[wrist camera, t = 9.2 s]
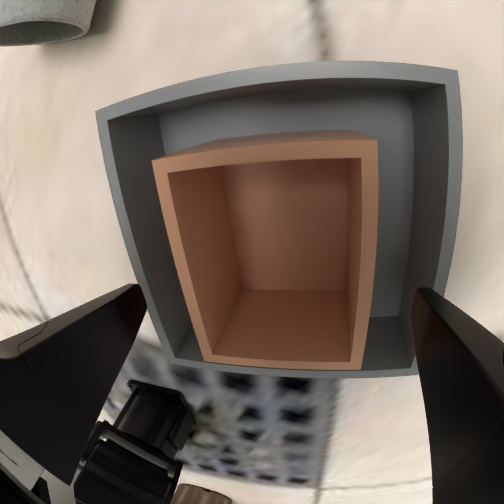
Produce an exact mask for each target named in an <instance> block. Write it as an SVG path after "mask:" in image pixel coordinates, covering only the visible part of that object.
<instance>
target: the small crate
mask: <svg viewBox="0 0 504 504" xmlns="http://www.w3.org/2000/svg"><path fill="white" fill-rule="evenodd" d="M152 165H153V170H154V175H155V180H156V185H157V190H158V194H159V199H160V204H161V208H162V213H163V217H164V221H165V225H166V230H167V234H168V238H169V242H170V246H171V250H172V254H173V258H174V261H175V265H176V269H177V273H178V276H179V280H180V283H181V287H182V291H183V294H184V297H185V301H186V304H187V308H188V311H189V314H190V318H191V321H192V324H193V327H194V331H195V334H196V337H197V340H198V343H199V346H200V349H201V352H202V355H203V358H204V361H208V362H216V363H225V364H234V365H245V366H257V367H270V368H287V369H314V370H361V365H362V359H363V354H364V348H365V342H366V336H367V330H368V323H369V316H370V308H371V300H372V291H373V282H374V272H375V260H376V245H377V226H378V145H377V140H375V139H373V138H371V137H369V136H367V135H365V134H362V133H360V132H358V131H356V130H354V129H347V130H313V131H295V132H281V133H269V134H259V135H249V136H240V137H232V138H225V139H217V140H212V141H208V142H205V143H202V144H199V145H196V146H192V147H189V148H186V149H183V150H180V151H177V152H174V153H171V154H169V155H166V156H163V157H160V158H157V159H155V160H152Z"/></svg>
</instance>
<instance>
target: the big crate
mask: <svg viewBox="0 0 504 504" xmlns="http://www.w3.org/2000/svg"><path fill="white" fill-rule="evenodd" d="M95 113H96V120H97V126H98V132H99V137H100V143H101V148H102V153H103V158H104V163H105V168H106V173H107V177H108V181H109V186H110V190H111V194H112V198H113V202H114V206H115V210H116V214H117V217H118V221H119V225H120V228H121V232H122V235H123V238H124V242H125V245H126V248H127V252H128V255H129V258H130V261H131V264H132V267H133V270H134V273H135V276H136V279H137V282H138V285H140V286H141V288H142V291H143V294H144V296H145V299H146V302H147V310H148V312H149V315H150V318H151V320H152V323H153V325H154V328H155V330H156V333H157V335H158V338H159V340H160V342H161V345H162V347H163V350H164V352H165V354H166V356H167V359H168V361H169V363H171V364H176V365H182V366H189V367H195V368H202V369H209V370H217V371H225V372H234V373H243V374H254V375H266V376H281V377H301V378H376V377H395V376H409V375H418V374H419V371H418V367H417V361H416V353H415V344H414V335H413V327H412V320H411V310H412V305H413V301H414V296H415V291H416V289H417V288H419V287H430V288H431V289H433V290H434V291H436V292H437V293H438V294H440V295H441V296H444V292H445V288H446V284H447V279H448V275H449V270H450V265H451V260H452V255H453V249H454V243H455V237H456V230H457V223H458V214H459V205H460V194H461V180H462V153H463V137H462V110H461V97H460V86H459V78H458V71H457V70H451V69H445V68H439V67H432V66H424V65H416V64H406V63H394V62H376V61H323V62H305V63H292V64H282V65H273V66H265V67H258V68H251V69H244V70H238V71H233V72H227V73H222V74H217V75H212V76H207V77H203V78H198V79H194V80H190V81H186V82H182V83H178V84H174V85H171V86H167V87H164V88H160V89H157V90H154V91H150V92H147V93H144V94H141V95H138V96H135V97H132V98H129V99H126V100H123V101H121V102H118V103H115V104H112V105H110V106H107V107H105V108H102V109H100V110H97V111H95ZM347 129H354V130H356V131H358V132H360V133H362V134H365V135H367V136H369V137H371V138H373V139H375V140H377V145H378V226H377V245H376V260H375V272H374V282H373V291H372V300H371V308H370V316H369V323H368V330H367V336H366V342H365V348H364V354H363V359H362V365H361V370H314V369H287V368H270V367H257V366H245V365H234V364H225V363H216V362H208V361H204V358H203V355H202V352H201V349H200V346H199V343H198V340H197V337H196V334H195V331H194V327H193V324H192V321H191V318H190V314H189V311H188V308H187V304H186V301H185V297H184V294H183V291H182V287H181V283H180V280H179V276H178V273H177V269H176V265H175V261H174V258H173V254H172V250H171V246H170V242H169V238H168V234H167V230H166V225H165V221H164V217H163V213H162V208H161V204H160V199H159V194H158V190H157V185H156V180H155V175H154V170H153V165H152V160H155V159H157V158H160V157H163V156H166V155H169V154H171V153H174V152H177V151H180V150H183V149H186V148H189V147H192V146H196V145H199V144H202V143H205V142H208V141H212V140H217V139H225V138H232V137H240V136H249V135H259V134H269V133H281V132H295V131H313V130H347Z"/></svg>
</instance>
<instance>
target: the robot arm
mask: <svg viewBox="0 0 504 504" xmlns="http://www.w3.org/2000/svg"><path fill="white" fill-rule="evenodd" d="M146 311H147V302H146V299H145V296H144V294H143V291H142V288H141V286H140V285H138V284H127V285H125V286H123V287H120V288H118V289H116V290H114V291H111V292H109V293H107V294H105V295H103V296H100V297H98V298H96V299H94V300H92V301H89V302H87V303H85V304H83V305H81V306H79V307H76V308H74V309H72V310H70V311H68V312H66V313H63V314H61V315H59V316H57V317H55V318H53V319H51V320H50V321H46V322H44V323H42V324H40V325H38V326H35V327H33V328H31V329H29V330H26V331H24V332H22V333H19V334H17V335H15V336H12V337H10V338H7V339H5V340H2V341H0V504H51V501H50V496H49V491H48V487H47V481H46V480H44V479H43V478H42V477H40V475H41V474H42V472H43V471H44V469H46V470H47V471H48V472H50V473H51V474H52V475H54V476H55V477H57V478H58V479H60V480H61V481H63V482H64V483H65V484H67V485H68V486H70V484H71V483H72V480H73V478H74V475H75V472H76V470H77V469H79V470H80V471H81V472H80V474H79V476H78V477H77V479H76V481H75V483H74V495H75V500H76V504H170V502H171V500H172V498H173V495H174V492H175V489H176V486H177V483H178V479H179V476H180V473H181V470H182V466H183V463H182V462H180V461H176V460H174V457H175V454H176V452H177V450H179V451H180V450H182V449H183V447H184V444H185V442H186V440H187V437H188V435H189V433H190V431H191V428H192V427H195V426H196V422H195V420H194V418H193V416H192V414H191V412H190V410H189V408H188V407H187V405H186V403H185V401H184V399H183V397H182V395H181V394H180V393H179V392H177V391H173V390H168V389H163V388H159V387H155V386H151V385H147V384H143V383H139V382H135V381H131V380H129V381H128V383H127V385H128V387H129V388H130V390H131V391H132V395H131V396H130V398H129V399H128V401H127V403H126V404H125V406H124V408H123V409H122V411H121V412H120V414H119V416H118V417H117V419H116V421H115V422H114V424H113V426H112V425H111V424H109V422H108V421H106V420H104V421H103V422H101V421H97V419H98V417H99V415H100V412H101V410H102V408H103V406H104V404H105V401H106V399H107V397H108V395H109V393H110V391H111V388H112V386H113V384H114V382H115V380H116V378H117V376H118V374H119V372H120V370H121V368H122V366H123V364H124V362H125V360H126V358H127V355H128V353H129V351H130V350H131V347H132V345H133V343H134V341H135V338H136V336H137V333H138V331H139V328H140V326H141V323H142V321H143V318H144V316H145V313H146ZM411 320H412V327H413V335H414V344H415V353H416V361H417V367H418V371H419V376H420V382H421V387H422V393H423V398H424V405H425V411H426V418H427V425H428V434H429V443H430V453H431V466H432V486H433V488H432V491H433V504H504V342H502V341H501V340H500V339H499V338H497V337H496V336H495V335H494V334H492V333H491V332H490V331H488V330H487V329H486V328H485V327H483V326H482V325H481V324H479V323H478V322H477V321H475V320H474V319H473V318H471V317H470V316H469V315H467V314H466V313H465V312H463V311H462V310H461V309H459V308H458V307H457V306H455V305H454V304H452V303H451V302H450V301H448V300H447V299H445V298H444V297H443V296H441V295H440V294H438V293H437V292H436V291H434V290H433V289H431V288H430V287H419V288H417V289H416V291H415V296H414V301H413V305H412V310H411ZM96 421H97V423H96ZM104 438H105V439H107V440H106V442H105V441H104V440H103V439H104Z"/></svg>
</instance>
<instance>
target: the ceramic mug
mask: <svg viewBox="0 0 504 504" xmlns="http://www.w3.org/2000/svg"><path fill="white" fill-rule="evenodd" d="M96 1H97V0H0V46H23V45H39V44H48V43H56V42H61V41H69V40H72V39H76V38H79V37H82V36H84V35H85V34H86V33H87V32H88V30H89V28H90V24H91V19H92V15H93V11H94V7H95V4H96Z"/></svg>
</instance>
